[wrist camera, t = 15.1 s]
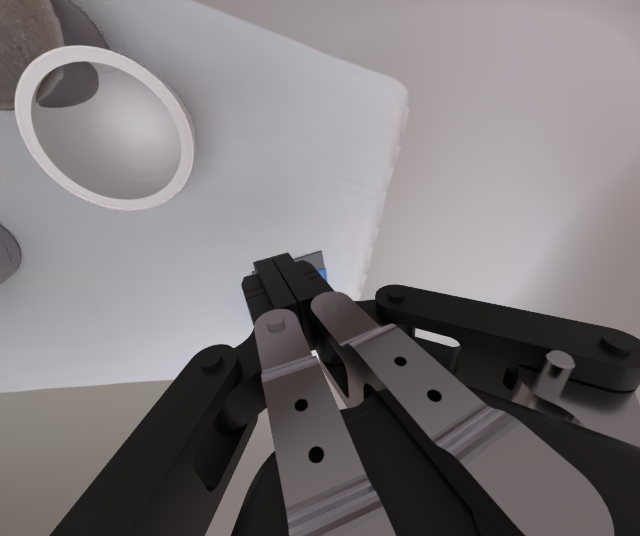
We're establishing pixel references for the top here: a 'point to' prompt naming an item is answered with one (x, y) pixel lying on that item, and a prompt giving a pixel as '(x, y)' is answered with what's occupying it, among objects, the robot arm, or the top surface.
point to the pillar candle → (46, 50)
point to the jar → (109, 132)
